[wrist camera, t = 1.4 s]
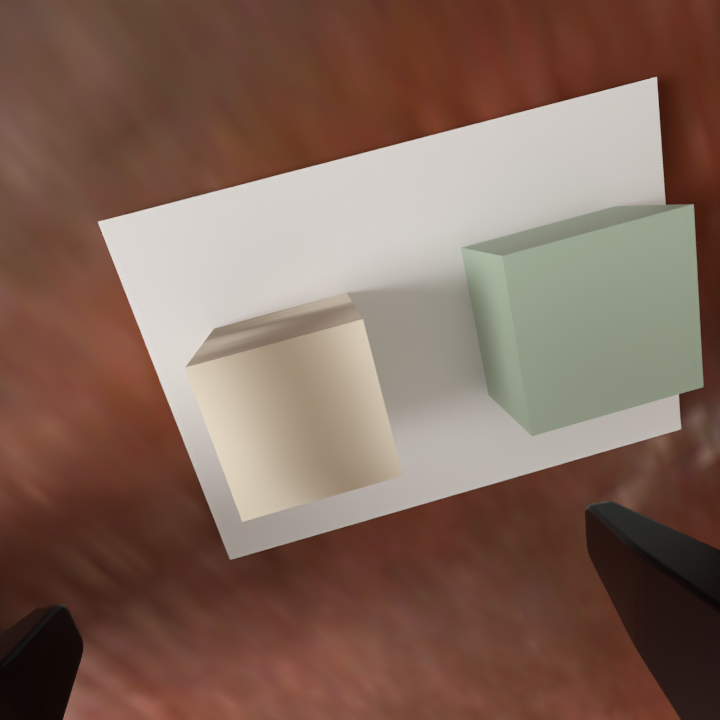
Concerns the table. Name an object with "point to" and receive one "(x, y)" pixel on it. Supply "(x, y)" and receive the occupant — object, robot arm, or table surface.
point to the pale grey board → (393, 289)
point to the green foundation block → (588, 314)
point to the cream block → (294, 406)
